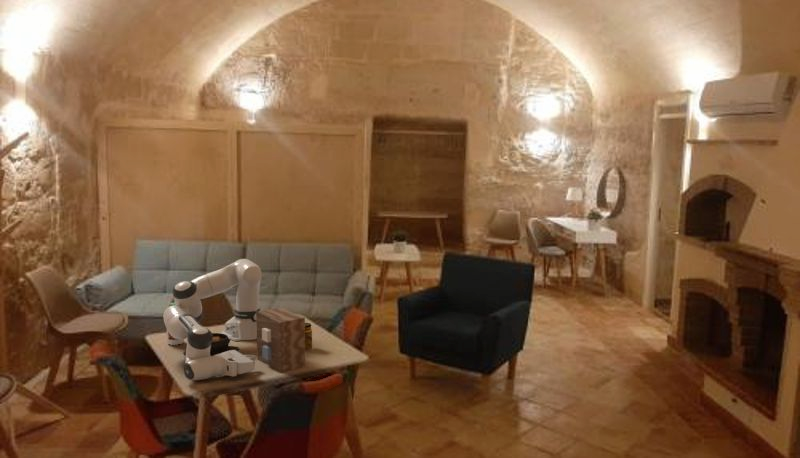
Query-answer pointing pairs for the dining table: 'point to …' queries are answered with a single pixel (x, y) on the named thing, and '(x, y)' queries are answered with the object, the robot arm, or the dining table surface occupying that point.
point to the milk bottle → (170, 339)
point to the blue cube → (267, 352)
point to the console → (282, 338)
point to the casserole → (219, 344)
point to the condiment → (308, 337)
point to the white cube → (266, 334)
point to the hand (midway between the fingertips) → (254, 357)
